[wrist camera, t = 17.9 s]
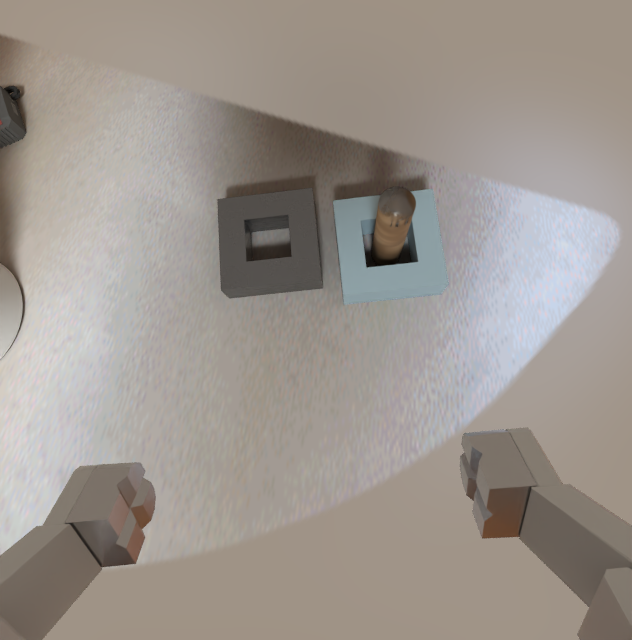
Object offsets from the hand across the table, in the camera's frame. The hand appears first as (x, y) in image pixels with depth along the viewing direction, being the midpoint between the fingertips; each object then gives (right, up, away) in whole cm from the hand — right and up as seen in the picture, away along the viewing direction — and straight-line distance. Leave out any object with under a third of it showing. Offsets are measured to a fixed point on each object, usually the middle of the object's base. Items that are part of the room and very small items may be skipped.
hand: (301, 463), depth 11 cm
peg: (+8, +11, +34) cm, 37 cm away
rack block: (+8, +11, +34) cm, 37 cm away
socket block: (-4, +11, +35) cm, 37 cm away
